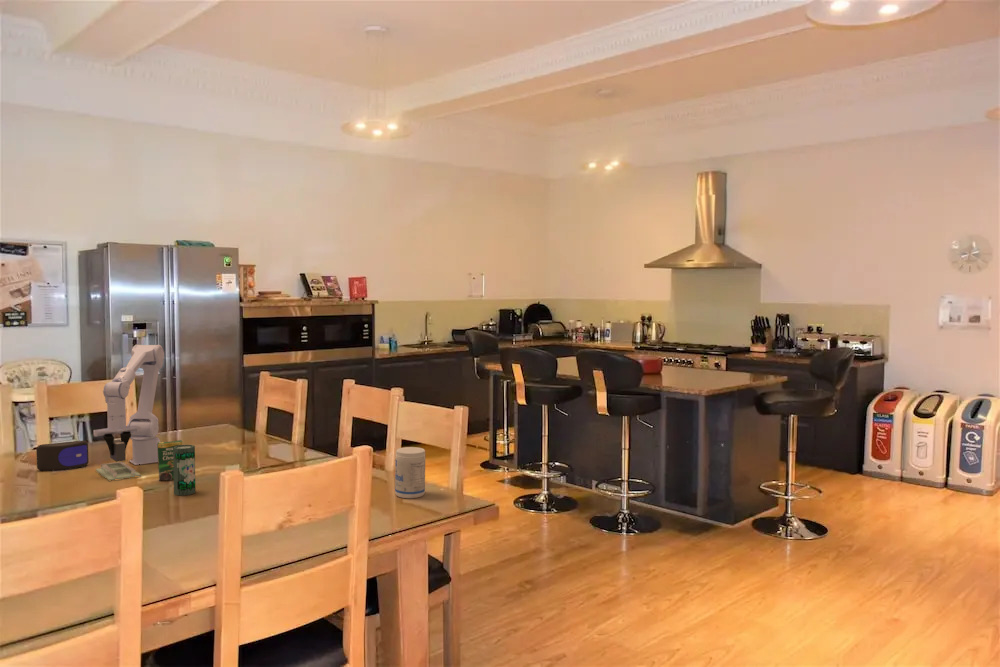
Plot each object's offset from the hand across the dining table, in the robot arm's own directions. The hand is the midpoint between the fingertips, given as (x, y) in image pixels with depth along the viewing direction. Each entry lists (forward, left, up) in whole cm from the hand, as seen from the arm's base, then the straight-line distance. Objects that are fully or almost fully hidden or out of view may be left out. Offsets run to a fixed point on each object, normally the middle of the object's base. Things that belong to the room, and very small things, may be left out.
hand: (117, 454), depth 269 cm
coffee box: (-12, +19, -7) cm, 24 cm away
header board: (0, 0, -7) cm, 7 cm away
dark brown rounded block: (+13, -21, -7) cm, 26 cm away
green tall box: (-10, +39, -7) cm, 41 cm away
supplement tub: (-65, +86, -7) cm, 108 cm away
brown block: (0, 0, -2) cm, 2 cm away
